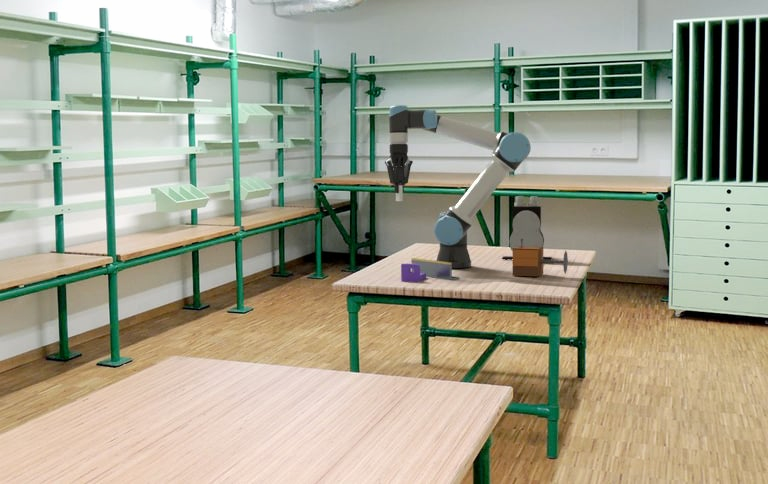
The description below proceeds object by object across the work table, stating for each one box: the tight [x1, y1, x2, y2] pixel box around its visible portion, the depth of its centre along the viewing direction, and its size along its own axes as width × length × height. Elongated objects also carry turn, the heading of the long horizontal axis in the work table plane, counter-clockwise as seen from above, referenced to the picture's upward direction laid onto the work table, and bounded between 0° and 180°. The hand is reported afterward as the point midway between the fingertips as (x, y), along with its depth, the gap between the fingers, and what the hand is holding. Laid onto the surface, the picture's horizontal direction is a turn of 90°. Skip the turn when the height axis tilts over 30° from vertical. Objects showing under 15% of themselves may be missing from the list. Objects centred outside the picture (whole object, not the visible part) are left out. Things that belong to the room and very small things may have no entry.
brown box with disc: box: [512, 239, 569, 277], centre depth 342 cm, size 11×20×14 cm, turn 67°
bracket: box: [400, 263, 427, 283], centre depth 330 cm, size 12×7×7 cm, turn 164°
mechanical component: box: [501, 195, 553, 260], centre depth 390 cm, size 22×21×30 cm
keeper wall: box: [411, 257, 461, 281], centre depth 339 cm, size 5×24×7 cm, turn 36°
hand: (399, 201), depth 354 cm, fingers closed
